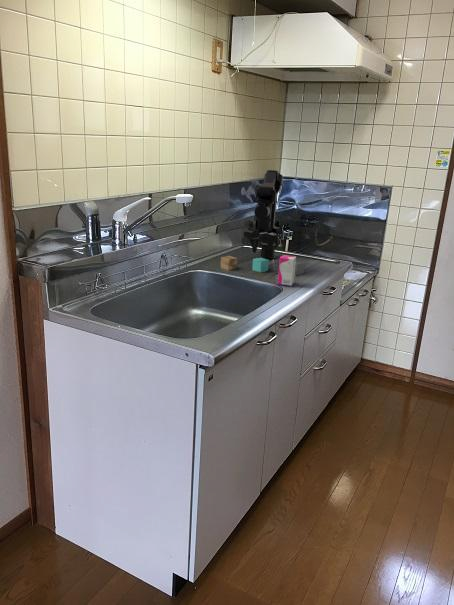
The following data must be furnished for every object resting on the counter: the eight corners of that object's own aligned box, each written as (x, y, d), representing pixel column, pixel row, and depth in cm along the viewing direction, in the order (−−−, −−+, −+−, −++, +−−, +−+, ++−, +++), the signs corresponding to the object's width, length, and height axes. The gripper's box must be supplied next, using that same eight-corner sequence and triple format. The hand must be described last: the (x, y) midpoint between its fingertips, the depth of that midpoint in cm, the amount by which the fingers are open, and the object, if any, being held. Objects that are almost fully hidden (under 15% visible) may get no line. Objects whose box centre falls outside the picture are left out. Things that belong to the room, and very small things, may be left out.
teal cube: (259, 268, 224) (260, 257, 222) (268, 271, 221) (268, 260, 219) (252, 270, 221) (253, 259, 219) (260, 272, 217) (261, 261, 216)
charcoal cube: (294, 271, 222) (295, 260, 221) (303, 273, 219) (304, 262, 217) (287, 272, 219) (288, 261, 217) (296, 275, 216) (297, 264, 214)
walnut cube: (228, 266, 224) (229, 255, 223) (236, 269, 221) (237, 258, 219) (220, 268, 221) (221, 257, 219) (228, 270, 218) (228, 259, 216)
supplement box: (294, 283, 203) (296, 256, 200) (291, 287, 198) (293, 259, 194) (280, 281, 205) (282, 254, 202) (277, 285, 200) (279, 257, 196)
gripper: (265, 211, 225) (262, 245, 230) (235, 214, 212) (233, 250, 217) (283, 215, 217) (280, 250, 222) (254, 218, 205) (251, 255, 210)
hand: (261, 251), depth 218 cm, fingers open, 9 cm apart
